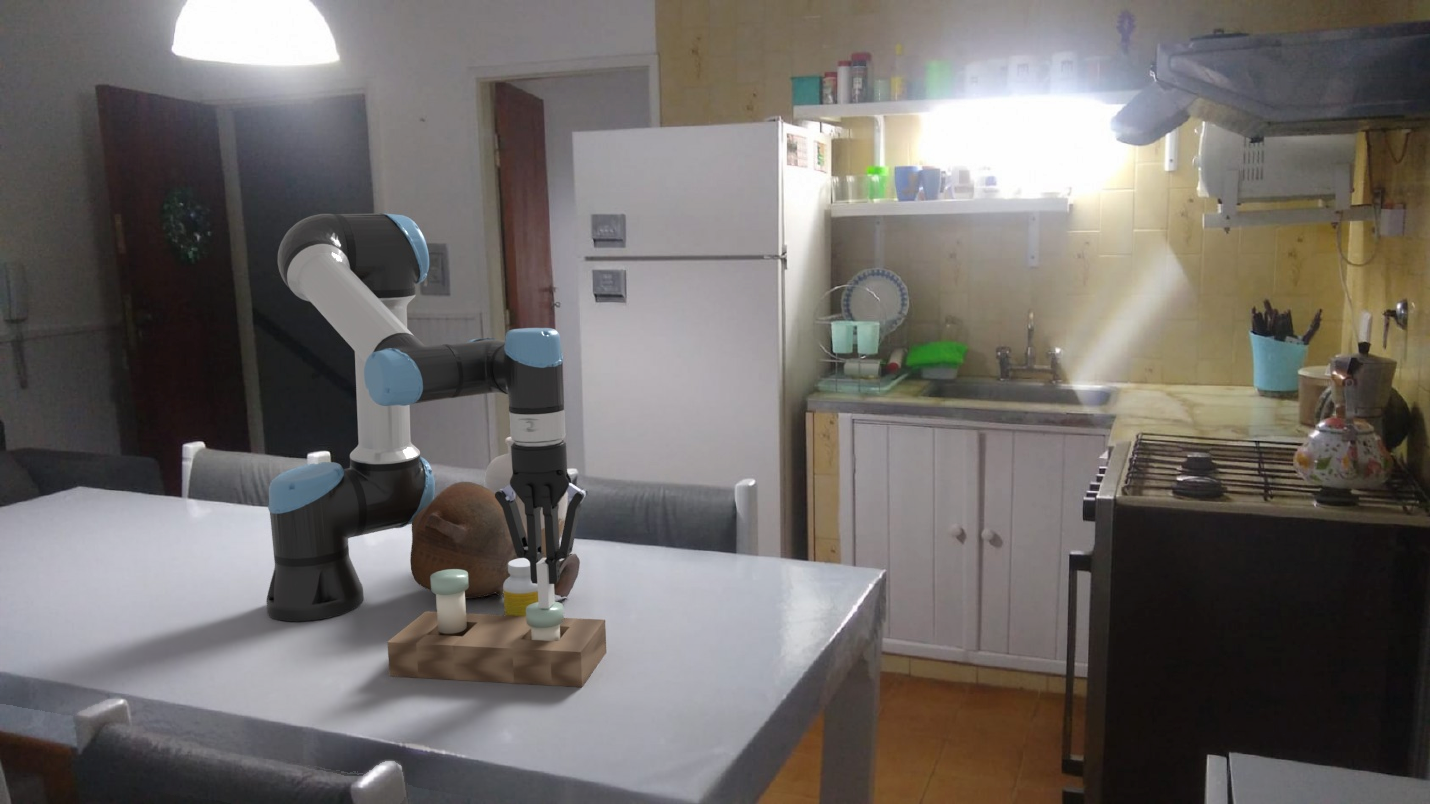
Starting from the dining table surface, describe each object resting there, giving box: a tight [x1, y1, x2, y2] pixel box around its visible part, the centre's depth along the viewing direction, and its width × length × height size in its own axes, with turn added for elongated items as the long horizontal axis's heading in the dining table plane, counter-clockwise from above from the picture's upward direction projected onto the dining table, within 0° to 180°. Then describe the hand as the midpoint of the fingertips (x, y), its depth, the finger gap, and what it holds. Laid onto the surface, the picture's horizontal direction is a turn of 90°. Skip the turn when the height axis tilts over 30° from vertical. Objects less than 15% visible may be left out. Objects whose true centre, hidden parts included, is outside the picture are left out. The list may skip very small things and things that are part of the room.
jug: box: [409, 481, 581, 599], centre depth 176 cm, size 20×20×30 cm
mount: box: [386, 611, 607, 688], centre depth 149 cm, size 28×12×5 cm, turn 80°
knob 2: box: [526, 601, 565, 641], centre depth 147 cm, size 5×5×8 cm
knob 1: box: [430, 569, 469, 634], centre depth 149 cm, size 5×5×8 cm
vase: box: [483, 436, 569, 557], centre depth 199 cm, size 16×16×23 cm
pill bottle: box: [503, 558, 538, 616], centre depth 159 cm, size 6×6×12 cm
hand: (546, 605), depth 147 cm, fingers closed
